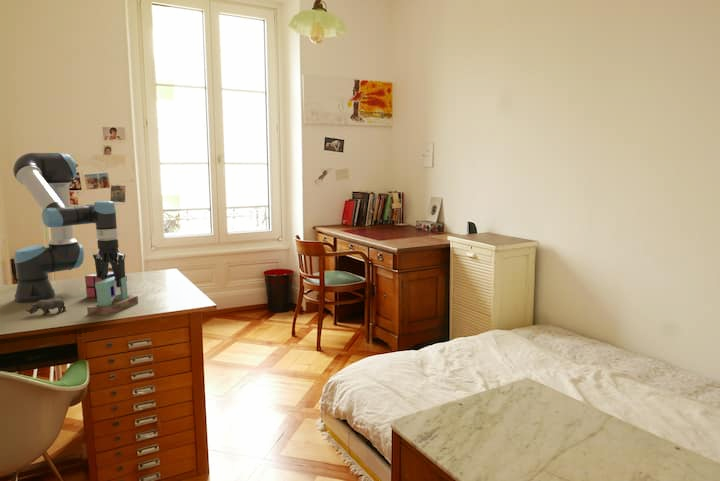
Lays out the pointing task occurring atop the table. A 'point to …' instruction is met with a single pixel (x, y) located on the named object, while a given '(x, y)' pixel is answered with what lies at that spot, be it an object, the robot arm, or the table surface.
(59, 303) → the rhino figurine
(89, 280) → the puzzle cube
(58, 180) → the robot arm
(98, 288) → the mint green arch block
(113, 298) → the brown flat block
